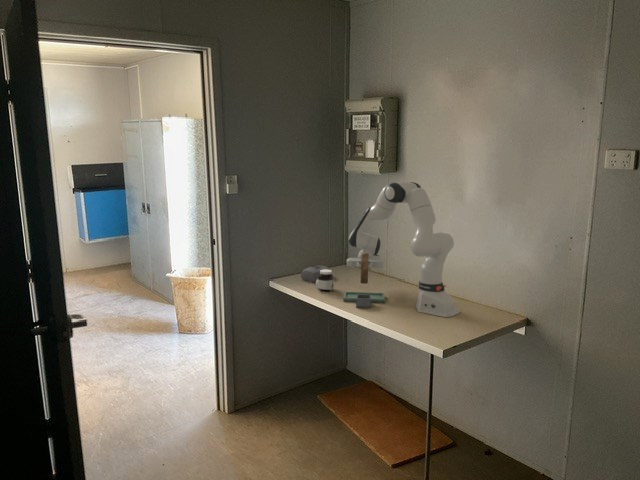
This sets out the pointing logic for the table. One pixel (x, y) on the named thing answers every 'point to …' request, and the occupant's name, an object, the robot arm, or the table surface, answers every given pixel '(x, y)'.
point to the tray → (374, 296)
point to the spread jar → (325, 280)
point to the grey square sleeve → (363, 301)
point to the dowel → (364, 267)
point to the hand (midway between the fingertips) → (364, 266)
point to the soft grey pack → (312, 273)
